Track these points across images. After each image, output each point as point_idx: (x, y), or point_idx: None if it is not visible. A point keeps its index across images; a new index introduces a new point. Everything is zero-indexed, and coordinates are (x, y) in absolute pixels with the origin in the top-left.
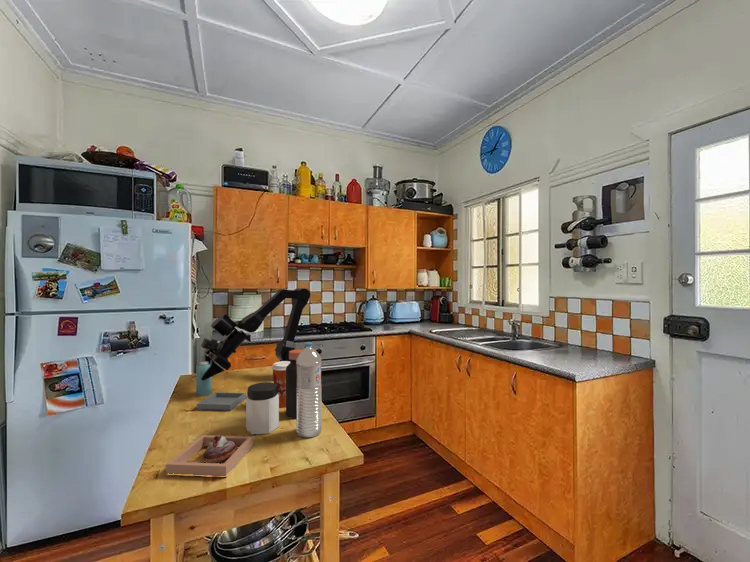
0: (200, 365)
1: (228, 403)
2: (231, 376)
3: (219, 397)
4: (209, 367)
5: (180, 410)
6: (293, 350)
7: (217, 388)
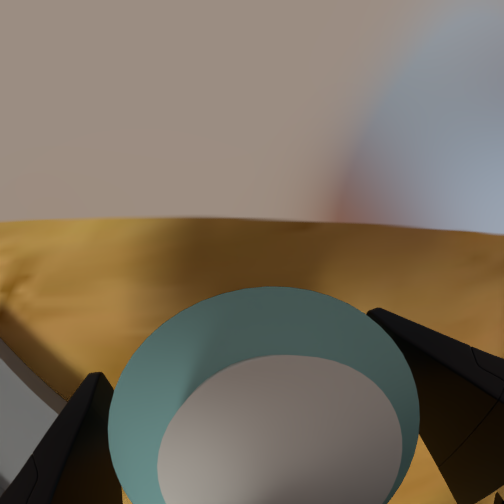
0: (199, 385)
1: (7, 467)
2: None
3: None
4: (24, 500)
5: (23, 258)
6: None
7: None
